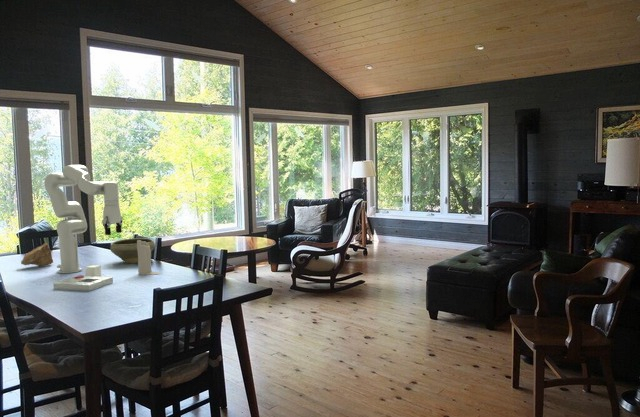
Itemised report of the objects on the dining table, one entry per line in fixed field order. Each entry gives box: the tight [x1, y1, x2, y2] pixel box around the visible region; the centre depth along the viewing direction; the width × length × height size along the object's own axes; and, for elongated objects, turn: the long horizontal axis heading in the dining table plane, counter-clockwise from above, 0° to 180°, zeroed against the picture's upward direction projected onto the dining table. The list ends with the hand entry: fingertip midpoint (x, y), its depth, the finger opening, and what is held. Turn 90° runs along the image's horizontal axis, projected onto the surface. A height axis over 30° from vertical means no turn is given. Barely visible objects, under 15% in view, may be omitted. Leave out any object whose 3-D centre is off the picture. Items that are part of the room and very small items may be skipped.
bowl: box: [109, 237, 156, 264], centre depth 330 cm, size 28×28×14 cm
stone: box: [20, 242, 54, 267], centre depth 320 cm, size 18×10×15 cm, turn 122°
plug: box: [84, 264, 102, 277], centre depth 282 cm, size 6×5×7 cm
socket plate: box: [52, 274, 114, 292], centre depth 265 cm, size 22×18×4 cm
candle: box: [137, 240, 162, 276], centre depth 291 cm, size 7×14×20 cm, turn 78°
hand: (113, 233), depth 285 cm, fingers open, 9 cm apart
